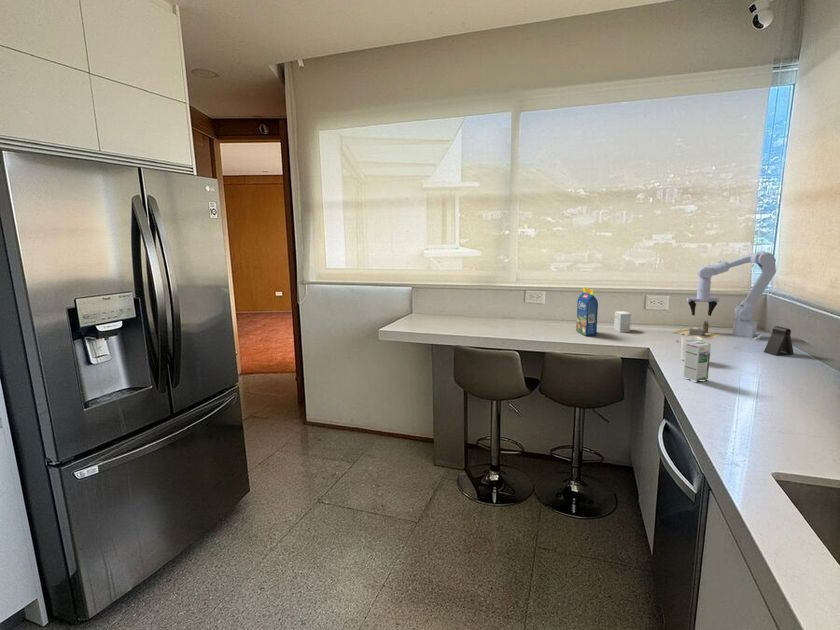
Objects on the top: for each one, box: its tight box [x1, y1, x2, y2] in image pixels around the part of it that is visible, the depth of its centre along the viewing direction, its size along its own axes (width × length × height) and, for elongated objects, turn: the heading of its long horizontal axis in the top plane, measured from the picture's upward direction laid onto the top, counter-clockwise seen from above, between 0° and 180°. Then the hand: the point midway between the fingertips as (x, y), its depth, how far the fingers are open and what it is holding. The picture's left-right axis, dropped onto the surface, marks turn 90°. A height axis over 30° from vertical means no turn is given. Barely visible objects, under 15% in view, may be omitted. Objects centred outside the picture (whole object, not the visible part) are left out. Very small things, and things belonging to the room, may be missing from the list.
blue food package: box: [575, 287, 599, 337], centre depth 239 cm, size 6×12×25 cm, turn 4°
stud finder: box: [689, 327, 706, 336], centre depth 229 cm, size 6×4×3 cm
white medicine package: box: [680, 335, 704, 360], centre depth 189 cm, size 8×8×10 cm
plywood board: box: [673, 328, 722, 340], centre depth 232 cm, size 18×16×1 cm
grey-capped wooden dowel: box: [702, 320, 710, 333], centre depth 233 cm, size 2×2×6 cm
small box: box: [613, 310, 632, 333], centre depth 245 cm, size 8×6×10 cm
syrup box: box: [683, 341, 712, 381], centre depth 165 cm, size 6×6×14 cm
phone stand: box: [763, 325, 795, 357], centre depth 196 cm, size 9×6×12 cm, turn 97°
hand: (701, 315), depth 233 cm, fingers open, 7 cm apart
